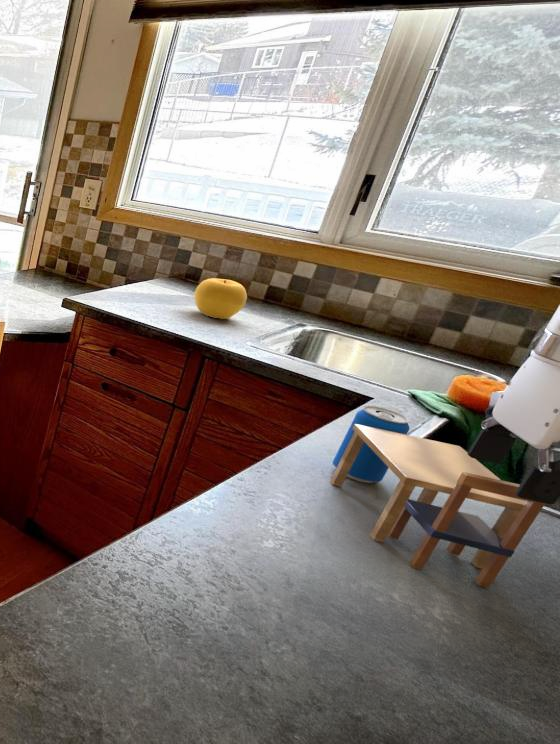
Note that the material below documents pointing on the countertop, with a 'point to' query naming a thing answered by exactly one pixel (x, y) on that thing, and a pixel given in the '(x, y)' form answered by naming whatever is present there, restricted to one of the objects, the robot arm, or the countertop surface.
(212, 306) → the apple
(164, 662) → the countertop surface
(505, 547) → the chair
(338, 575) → the countertop surface
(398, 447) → the dining table
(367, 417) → the beverage can
